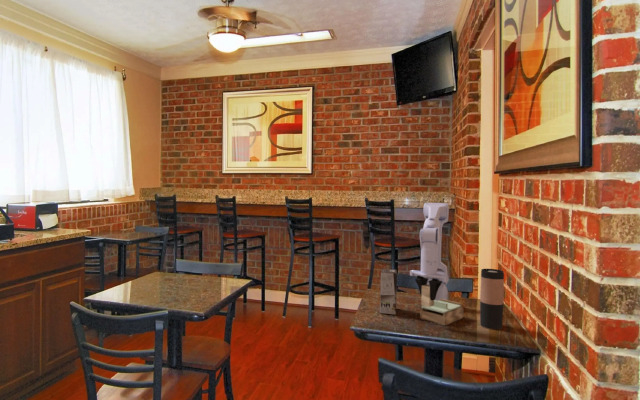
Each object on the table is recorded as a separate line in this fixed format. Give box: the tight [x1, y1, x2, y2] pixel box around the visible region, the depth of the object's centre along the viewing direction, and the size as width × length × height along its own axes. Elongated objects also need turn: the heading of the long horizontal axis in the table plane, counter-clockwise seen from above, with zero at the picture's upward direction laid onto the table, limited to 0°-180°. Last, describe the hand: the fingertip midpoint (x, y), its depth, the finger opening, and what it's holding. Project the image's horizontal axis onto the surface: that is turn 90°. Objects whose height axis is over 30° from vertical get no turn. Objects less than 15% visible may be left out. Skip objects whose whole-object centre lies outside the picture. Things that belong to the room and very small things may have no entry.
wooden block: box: [420, 284, 434, 307], centre depth 135 cm, size 3×3×7 cm
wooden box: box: [419, 299, 464, 327], centre depth 143 cm, size 14×10×6 cm
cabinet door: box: [421, 300, 462, 313], centre depth 142 cm, size 13×9×3 cm
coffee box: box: [379, 268, 398, 315], centre depth 151 cm, size 9×6×16 cm
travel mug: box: [479, 268, 505, 330], centre depth 135 cm, size 8×8×20 cm
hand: (428, 298), depth 135 cm, fingers closed on wooden block, 3 cm apart
